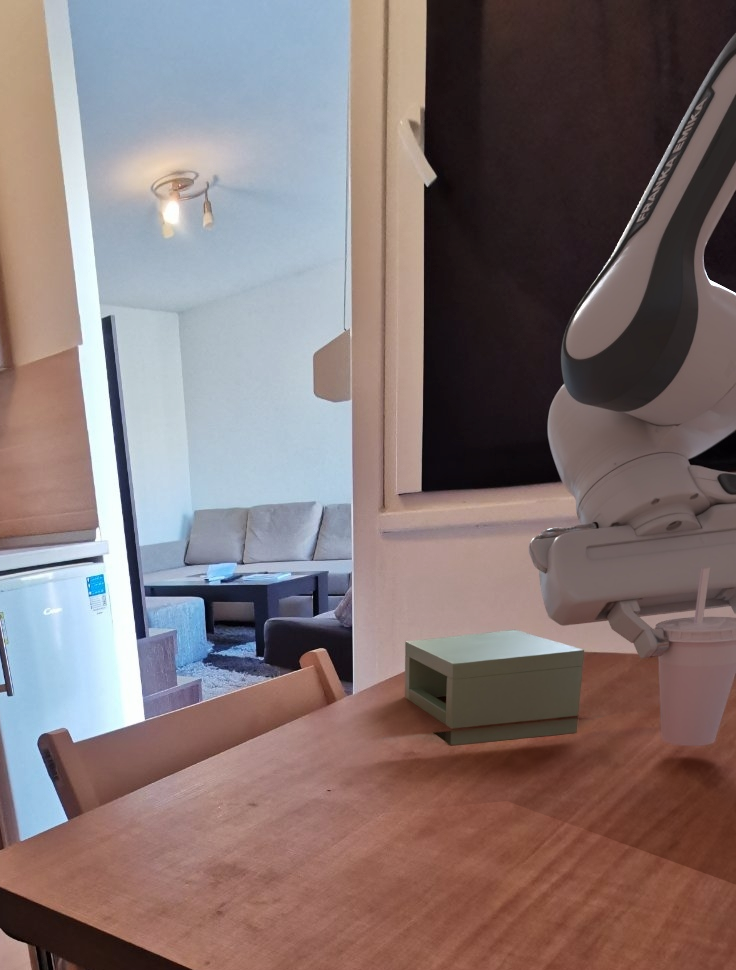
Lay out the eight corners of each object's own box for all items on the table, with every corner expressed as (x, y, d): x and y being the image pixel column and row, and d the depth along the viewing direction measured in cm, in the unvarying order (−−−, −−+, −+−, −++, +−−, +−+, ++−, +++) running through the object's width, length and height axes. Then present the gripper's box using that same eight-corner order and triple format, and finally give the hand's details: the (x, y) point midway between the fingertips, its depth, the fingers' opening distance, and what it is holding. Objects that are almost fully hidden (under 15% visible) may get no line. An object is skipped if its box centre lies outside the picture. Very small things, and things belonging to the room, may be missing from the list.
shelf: (511, 700, 86) (515, 629, 83) (576, 733, 73) (584, 649, 70) (404, 711, 87) (405, 641, 84) (450, 745, 74) (453, 663, 71)
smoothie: (624, 739, 66) (641, 572, 61) (677, 724, 68) (698, 561, 63) (699, 756, 60) (724, 573, 55) (755, 739, 62) (784, 561, 57)
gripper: (536, 506, 64) (590, 639, 58) (788, 474, 63) (868, 606, 57) (510, 558, 70) (556, 684, 64) (740, 530, 69) (809, 656, 63)
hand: (706, 647), depth 61 cm, fingers closed on smoothie, 6 cm apart
